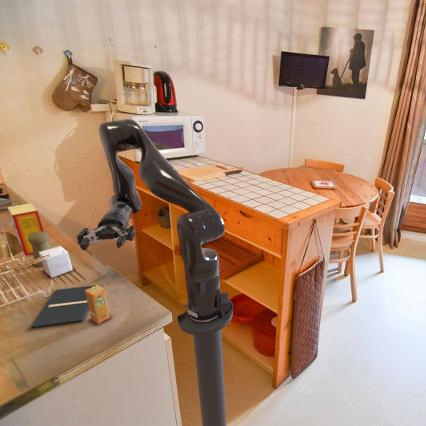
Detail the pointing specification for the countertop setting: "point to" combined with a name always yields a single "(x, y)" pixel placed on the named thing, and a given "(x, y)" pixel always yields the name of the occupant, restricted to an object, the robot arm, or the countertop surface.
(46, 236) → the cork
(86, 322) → the countertop surface
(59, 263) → the product carton
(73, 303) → the slate mat
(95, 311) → the supplement box
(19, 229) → the baking soda box
